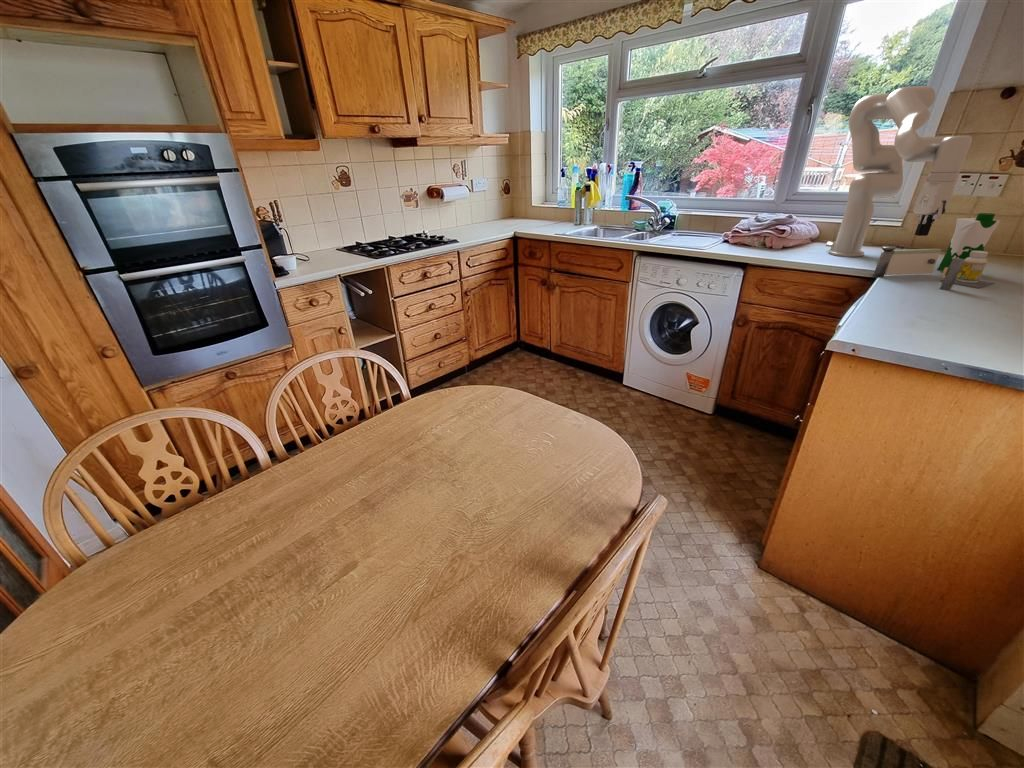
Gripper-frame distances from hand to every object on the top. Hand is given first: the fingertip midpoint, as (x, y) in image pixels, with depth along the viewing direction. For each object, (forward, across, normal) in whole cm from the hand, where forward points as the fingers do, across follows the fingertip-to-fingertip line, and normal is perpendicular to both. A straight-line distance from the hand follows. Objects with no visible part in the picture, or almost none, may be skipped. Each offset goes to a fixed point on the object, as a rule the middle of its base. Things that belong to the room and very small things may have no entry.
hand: (920, 235), depth 152 cm
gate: (+12, +6, -3) cm, 14 cm away
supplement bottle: (+13, +15, +9) cm, 22 cm away
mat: (+13, +15, +9) cm, 22 cm away
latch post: (+13, +23, -2) cm, 27 cm away
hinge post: (+13, +7, -13) cm, 20 cm away
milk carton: (+13, 0, +15) cm, 20 cm away
